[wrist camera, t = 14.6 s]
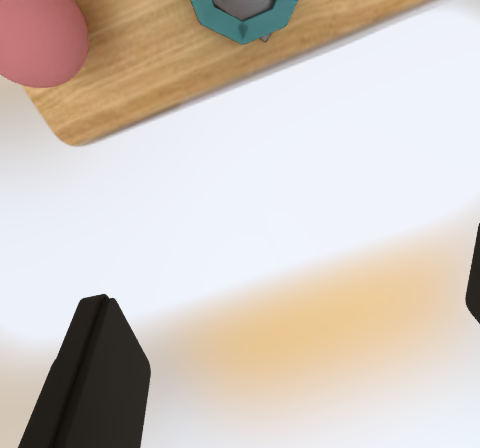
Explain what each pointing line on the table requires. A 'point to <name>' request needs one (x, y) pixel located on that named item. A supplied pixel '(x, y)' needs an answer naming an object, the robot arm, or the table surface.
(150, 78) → the table surface
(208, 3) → the ring
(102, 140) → the table surface
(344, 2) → the table surface
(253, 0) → the peg stand
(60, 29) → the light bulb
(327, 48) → the table surface
